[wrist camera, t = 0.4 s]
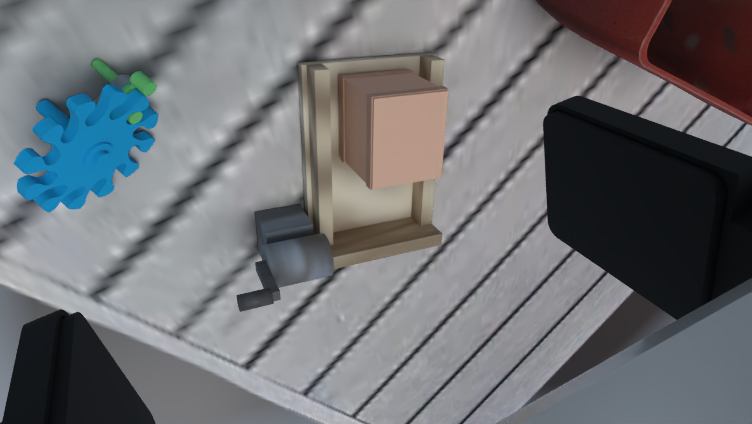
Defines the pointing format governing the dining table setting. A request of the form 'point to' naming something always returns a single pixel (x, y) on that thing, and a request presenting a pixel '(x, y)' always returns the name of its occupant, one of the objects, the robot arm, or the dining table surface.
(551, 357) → the dining table surface
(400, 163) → the pink-tan cube
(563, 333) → the dining table surface
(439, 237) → the bay
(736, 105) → the plant pot
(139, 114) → the gear
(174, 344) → the dining table surface
